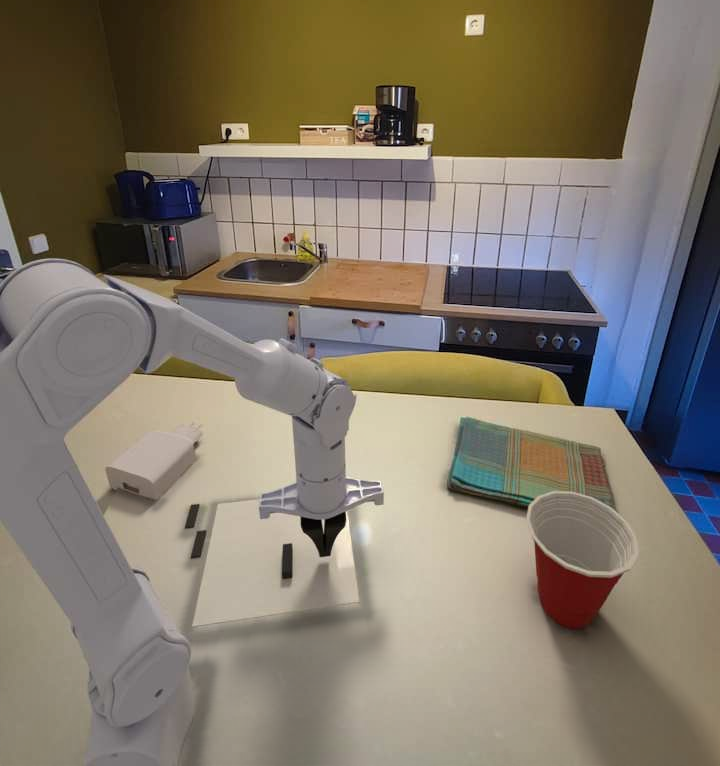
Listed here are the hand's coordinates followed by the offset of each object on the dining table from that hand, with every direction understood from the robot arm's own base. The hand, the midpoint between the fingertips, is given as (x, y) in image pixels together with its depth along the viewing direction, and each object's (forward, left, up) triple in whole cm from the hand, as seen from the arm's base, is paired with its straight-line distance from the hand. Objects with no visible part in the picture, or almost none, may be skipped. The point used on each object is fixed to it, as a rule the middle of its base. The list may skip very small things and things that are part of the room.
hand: (324, 549), depth 54 cm
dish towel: (+11, -33, -3) cm, 35 cm away
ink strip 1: (+9, +19, -2) cm, 21 cm away
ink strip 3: (0, +5, -2) cm, 5 cm away
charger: (+21, +25, -3) cm, 33 cm away
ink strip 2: (+4, +16, -2) cm, 16 cm away
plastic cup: (-9, -27, -3) cm, 29 cm away
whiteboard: (+2, +6, -3) cm, 7 cm away
